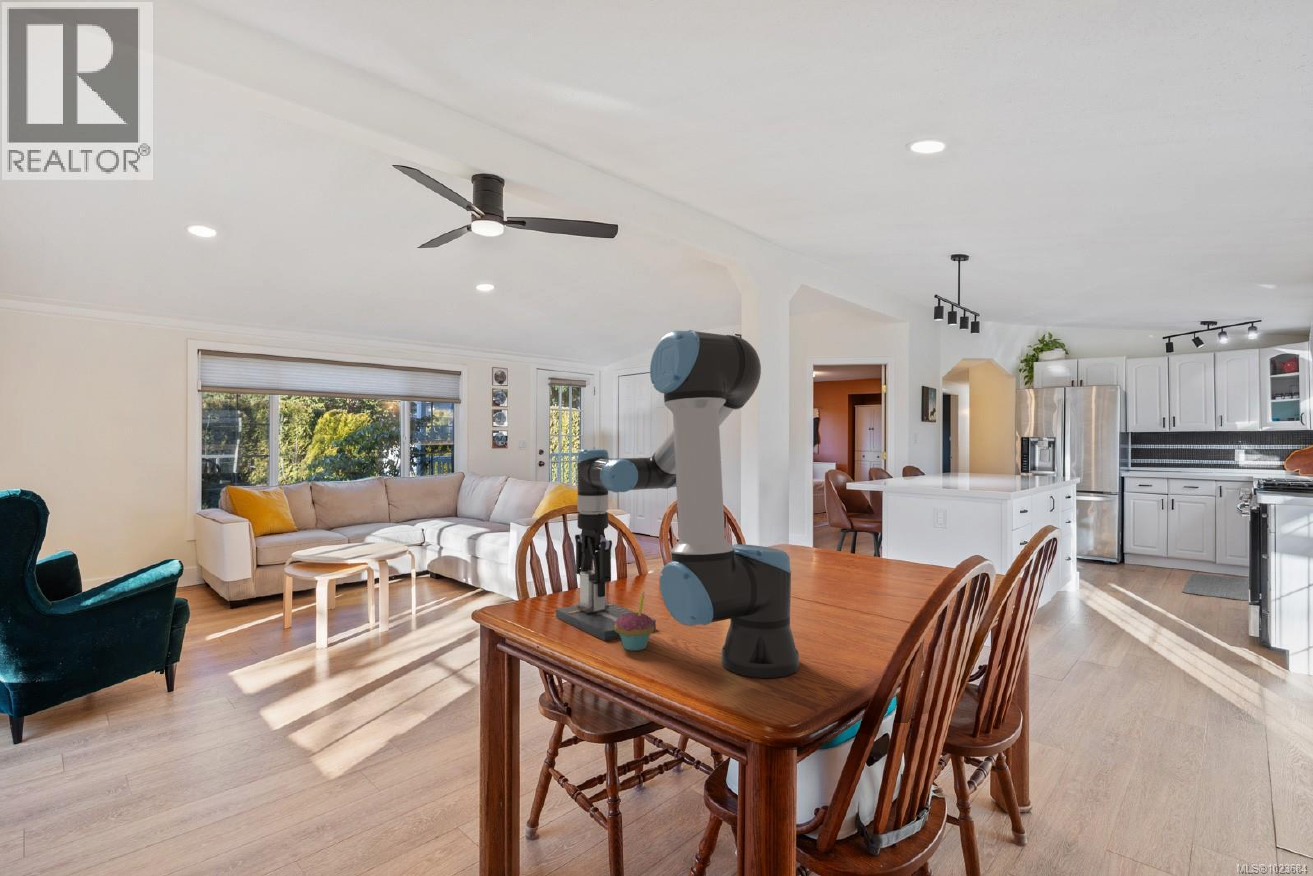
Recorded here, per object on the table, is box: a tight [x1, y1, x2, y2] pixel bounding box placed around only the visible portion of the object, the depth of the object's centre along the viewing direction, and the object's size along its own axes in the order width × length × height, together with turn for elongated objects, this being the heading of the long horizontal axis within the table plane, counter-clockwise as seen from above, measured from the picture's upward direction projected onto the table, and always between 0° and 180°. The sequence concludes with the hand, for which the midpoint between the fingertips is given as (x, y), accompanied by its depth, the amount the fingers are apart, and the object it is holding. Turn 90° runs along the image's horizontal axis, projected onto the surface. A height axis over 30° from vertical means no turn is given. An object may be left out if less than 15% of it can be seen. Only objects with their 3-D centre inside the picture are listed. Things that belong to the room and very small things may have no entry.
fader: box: [576, 569, 609, 613], centre depth 156 cm, size 5×6×9 cm
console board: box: [555, 600, 657, 642], centre depth 152 cm, size 22×14×2 cm, turn 37°
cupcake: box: [615, 591, 655, 651], centre depth 135 cm, size 9×8×12 cm
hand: (593, 606), depth 156 cm, fingers closed on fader, 5 cm apart
